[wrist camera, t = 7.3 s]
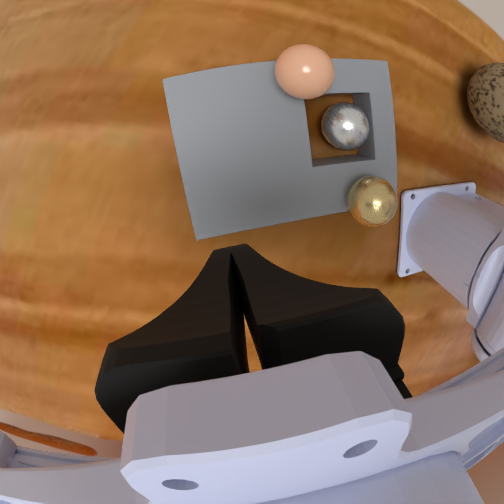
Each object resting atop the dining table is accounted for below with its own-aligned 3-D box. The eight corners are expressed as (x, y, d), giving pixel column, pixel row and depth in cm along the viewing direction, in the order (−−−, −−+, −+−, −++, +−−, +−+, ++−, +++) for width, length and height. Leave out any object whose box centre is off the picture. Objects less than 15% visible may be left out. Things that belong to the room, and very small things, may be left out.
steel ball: (344, 94, 18) (309, 119, 19) (355, 92, 15) (313, 120, 16) (371, 131, 19) (336, 155, 20) (385, 135, 16) (344, 163, 17)
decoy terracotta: (317, 49, 14) (339, 38, 11) (325, 99, 16) (348, 96, 13) (264, 52, 14) (277, 39, 11) (273, 103, 16) (287, 100, 13)
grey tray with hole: (369, 65, 17) (387, 61, 15) (379, 193, 22) (396, 202, 19) (168, 84, 16) (162, 79, 14) (197, 226, 21) (196, 240, 18)
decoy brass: (380, 168, 18) (407, 179, 15) (380, 213, 20) (406, 230, 17) (337, 174, 18) (361, 185, 15) (340, 220, 19) (362, 239, 16)
